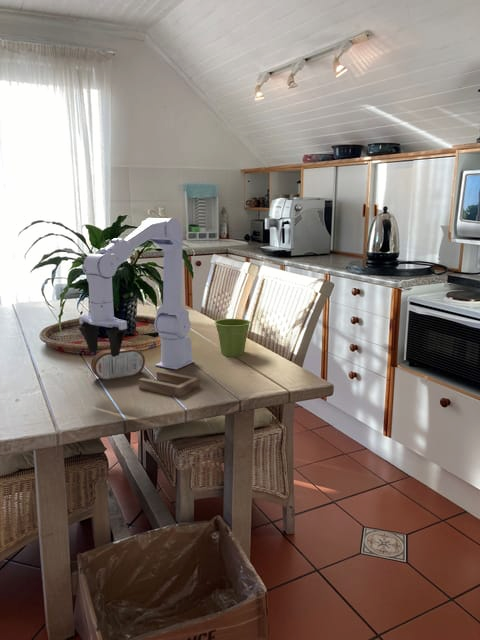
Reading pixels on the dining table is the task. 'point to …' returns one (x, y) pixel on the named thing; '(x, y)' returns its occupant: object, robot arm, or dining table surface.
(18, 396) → the dining table surface
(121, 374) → the tin
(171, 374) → the dock
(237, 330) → the plant pot
